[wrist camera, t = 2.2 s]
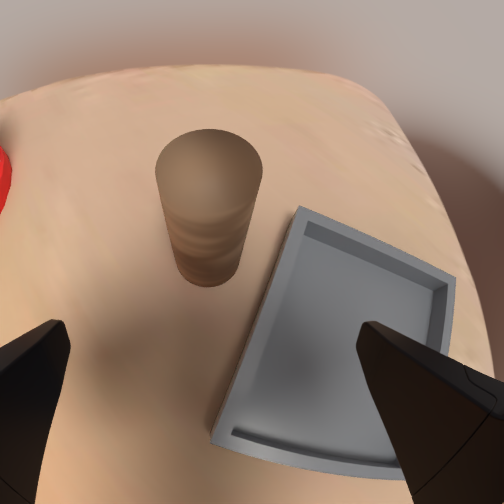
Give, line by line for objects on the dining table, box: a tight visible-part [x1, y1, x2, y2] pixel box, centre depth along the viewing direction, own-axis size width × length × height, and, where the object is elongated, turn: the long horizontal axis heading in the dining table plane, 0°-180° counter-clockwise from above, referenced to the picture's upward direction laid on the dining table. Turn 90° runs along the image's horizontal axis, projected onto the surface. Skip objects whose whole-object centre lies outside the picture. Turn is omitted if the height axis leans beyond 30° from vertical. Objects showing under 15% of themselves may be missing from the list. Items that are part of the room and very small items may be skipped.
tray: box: [210, 205, 456, 480], centre depth 20 cm, size 18×16×3 cm
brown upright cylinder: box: [155, 129, 263, 287], centre depth 18 cm, size 5×5×11 cm
